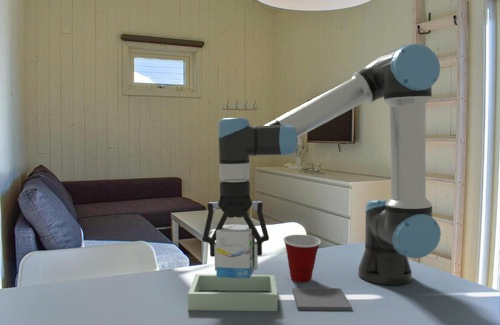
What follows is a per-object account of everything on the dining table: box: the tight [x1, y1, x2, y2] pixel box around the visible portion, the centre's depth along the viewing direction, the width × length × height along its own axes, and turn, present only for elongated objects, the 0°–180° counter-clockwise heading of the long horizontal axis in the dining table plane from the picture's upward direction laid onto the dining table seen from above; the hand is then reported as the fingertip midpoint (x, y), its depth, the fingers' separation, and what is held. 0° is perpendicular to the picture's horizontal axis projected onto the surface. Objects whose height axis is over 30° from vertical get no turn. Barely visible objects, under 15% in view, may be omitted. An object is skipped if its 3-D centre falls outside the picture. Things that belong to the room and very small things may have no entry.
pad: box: [291, 287, 353, 311], centre depth 114 cm, size 13×13×1 cm
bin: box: [187, 273, 279, 312], centre depth 114 cm, size 21×15×4 cm
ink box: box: [215, 223, 256, 278], centre depth 113 cm, size 8×8×12 cm
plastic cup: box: [283, 234, 322, 283], centre depth 130 cm, size 11×11×12 cm
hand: (236, 268), depth 113 cm, fingers closed on ink box, 9 cm apart
